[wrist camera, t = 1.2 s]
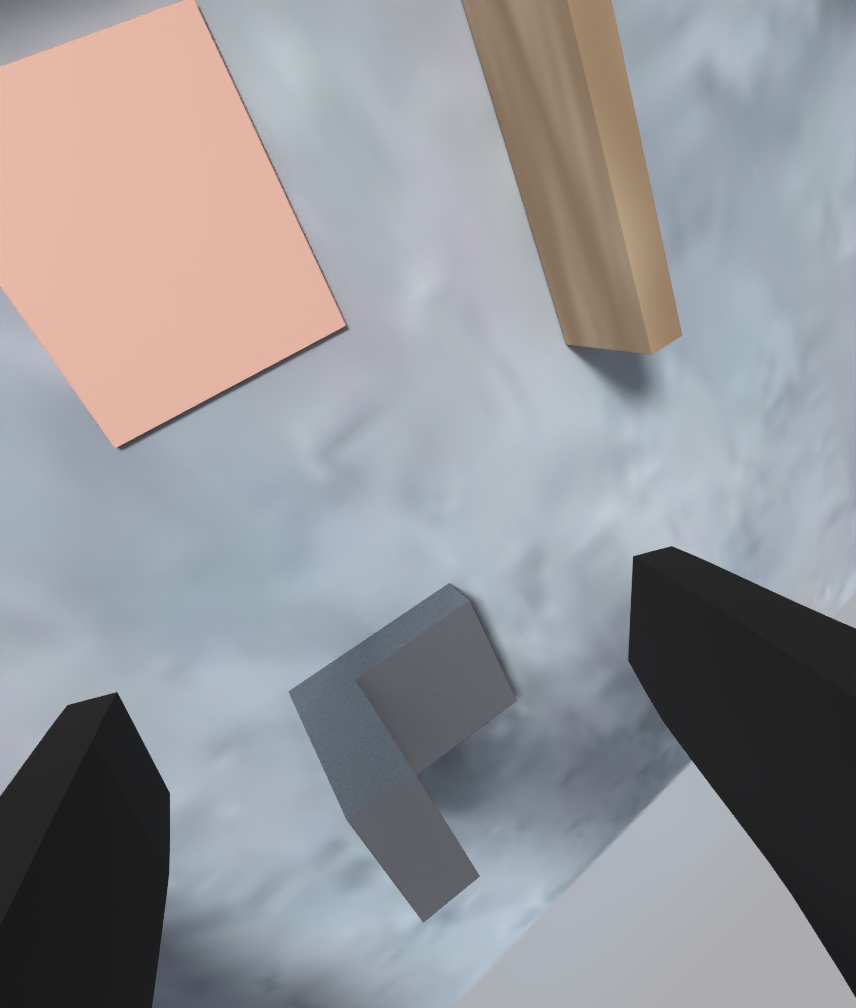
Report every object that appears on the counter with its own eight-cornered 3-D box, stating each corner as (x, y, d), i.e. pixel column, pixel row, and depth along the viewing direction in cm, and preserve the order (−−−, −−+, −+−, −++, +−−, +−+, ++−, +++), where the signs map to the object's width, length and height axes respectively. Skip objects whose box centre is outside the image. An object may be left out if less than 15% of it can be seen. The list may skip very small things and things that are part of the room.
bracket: (353, 783, 23) (423, 922, 18) (288, 691, 21) (347, 820, 16) (495, 679, 25) (597, 780, 20) (448, 582, 23) (549, 668, 18)
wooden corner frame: (-7, 686, 17) (-35, 785, 14) (-825, -123, 9) (-1376, -366, 6) (592, 328, 22) (682, 335, 19) (391, -393, 14) (482, -609, 11)
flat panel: (114, 447, 17) (115, 448, 17) (-121, 114, 13) (-123, 112, 13) (344, 325, 18) (345, 325, 18) (192, -1, 15) (192, -4, 15)
